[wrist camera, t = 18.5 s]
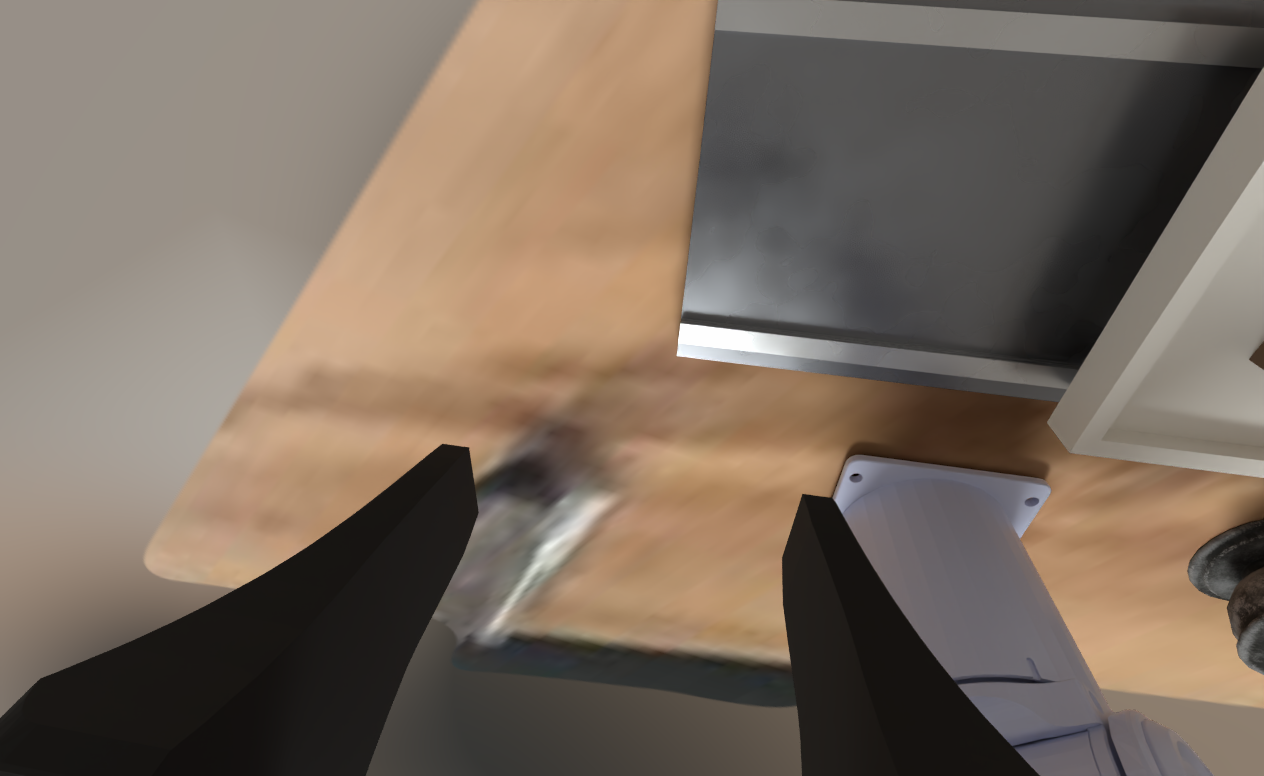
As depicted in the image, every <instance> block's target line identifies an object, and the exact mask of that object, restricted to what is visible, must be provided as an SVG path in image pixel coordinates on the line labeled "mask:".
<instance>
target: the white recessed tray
mask: <svg viewBox="0 0 1264 776" xmlns="http://www.w3.org/2000/svg"><path fill="white" fill-rule="evenodd" d="M1263 341H1264V67H1263V69H1262V70H1261V72H1260V74H1259V75H1258V77H1257V78H1256V80H1255V82H1254V83H1253V85H1252V87H1251V88H1250V90H1249V92H1248V93H1247V95H1246V97H1245V98H1244V100H1243V101H1242V103H1241V105H1240V106H1239V108H1238V110H1237V111H1236V113H1235V115H1234V116H1233V118H1232V119H1231V121H1230V123H1229V124H1228V126H1227V128H1226V129H1225V131H1224V133H1223V134H1222V136H1221V138H1220V139H1219V141H1218V142H1217V144H1216V146H1215V147H1214V149H1213V151H1212V152H1211V154H1210V156H1209V157H1208V159H1207V161H1206V162H1205V164H1204V165H1203V167H1202V169H1201V170H1200V172H1199V174H1198V175H1197V177H1196V179H1195V180H1194V182H1193V183H1192V185H1191V187H1190V188H1189V190H1188V192H1187V193H1186V195H1185V197H1184V198H1183V200H1182V202H1181V203H1180V205H1179V206H1178V208H1177V210H1176V211H1175V213H1174V215H1173V216H1172V218H1171V220H1170V221H1169V223H1168V225H1167V226H1166V228H1165V229H1164V231H1163V233H1162V234H1161V236H1160V238H1159V239H1158V241H1157V243H1156V244H1155V246H1154V247H1153V249H1152V251H1151V252H1150V254H1149V256H1148V257H1147V259H1146V261H1145V262H1144V264H1143V266H1142V267H1141V269H1140V270H1139V272H1138V274H1137V275H1136V277H1135V279H1134V280H1133V282H1132V284H1131V285H1130V287H1129V289H1128V290H1127V292H1126V293H1125V295H1124V297H1123V298H1122V300H1121V302H1120V303H1119V305H1118V307H1117V308H1116V310H1115V311H1114V313H1113V315H1112V316H1111V318H1110V320H1109V321H1108V323H1107V325H1106V326H1105V328H1104V330H1103V331H1102V333H1101V334H1100V336H1099V338H1098V339H1097V341H1096V343H1095V344H1094V346H1093V348H1092V349H1091V351H1090V353H1089V354H1088V356H1087V357H1086V359H1085V361H1084V362H1083V364H1082V366H1081V367H1080V369H1079V371H1078V372H1077V374H1076V375H1075V377H1074V379H1073V380H1072V382H1071V384H1070V385H1069V387H1068V389H1067V390H1066V392H1065V394H1064V395H1063V397H1062V398H1061V400H1060V402H1059V403H1058V405H1057V407H1056V408H1055V410H1054V412H1053V413H1052V415H1051V417H1050V418H1049V420H1048V421H1047V423H1048V425H1049V426H1050V427H1051V429H1052V430H1053V432H1054V433H1055V434H1056V436H1057V437H1058V438H1059V440H1060V441H1061V442H1062V444H1063V445H1064V446H1065V448H1066V449H1067V450H1068V452H1069V453H1074V454H1082V455H1090V456H1097V457H1105V458H1113V459H1121V460H1129V461H1137V462H1144V463H1152V464H1160V465H1168V466H1176V467H1184V468H1191V469H1199V470H1207V471H1215V472H1223V473H1230V474H1238V475H1246V476H1254V477H1262V478H1264V370H1263V369H1262V368H1260V367H1259V366H1257V365H1256V364H1254V363H1253V362H1251V361H1250V360H1249V359H1250V357H1251V356H1252V355H1253V354H1254V353H1255V351H1256V350H1257V349H1258V348H1259V346H1260V345H1261V344H1262V343H1263Z"/></svg>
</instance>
